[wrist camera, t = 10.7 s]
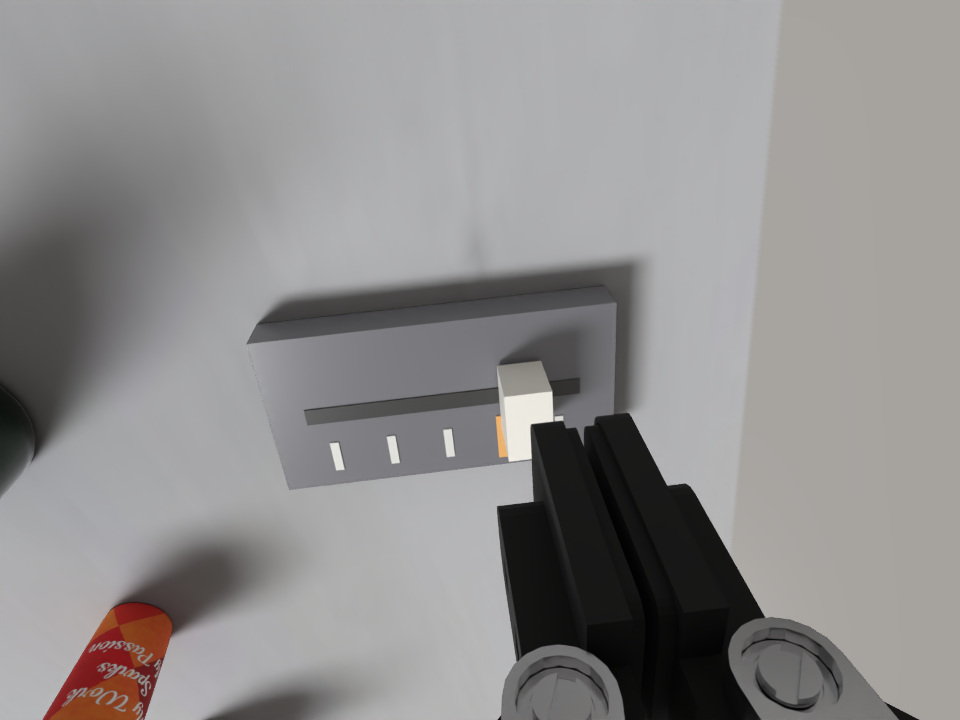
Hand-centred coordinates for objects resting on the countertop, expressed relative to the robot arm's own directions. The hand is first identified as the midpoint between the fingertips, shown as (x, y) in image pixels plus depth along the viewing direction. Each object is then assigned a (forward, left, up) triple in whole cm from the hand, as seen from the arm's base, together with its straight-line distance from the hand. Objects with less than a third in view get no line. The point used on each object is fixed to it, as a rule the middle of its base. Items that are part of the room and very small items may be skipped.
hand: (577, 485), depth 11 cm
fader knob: (+16, +2, -28) cm, 32 cm away
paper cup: (+37, -32, -32) cm, 58 cm away
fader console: (+16, -3, -32) cm, 35 cm away
